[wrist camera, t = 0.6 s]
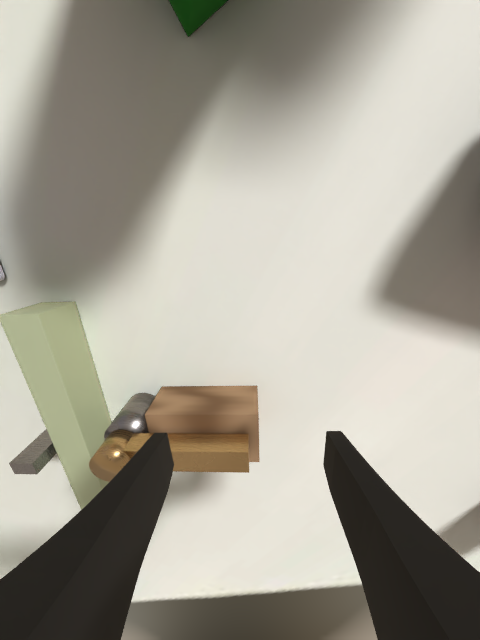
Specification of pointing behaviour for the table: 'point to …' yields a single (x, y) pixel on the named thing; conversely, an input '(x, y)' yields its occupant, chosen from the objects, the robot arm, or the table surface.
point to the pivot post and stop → (127, 419)
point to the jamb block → (207, 412)
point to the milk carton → (195, 12)
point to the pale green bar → (62, 386)
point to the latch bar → (175, 452)
